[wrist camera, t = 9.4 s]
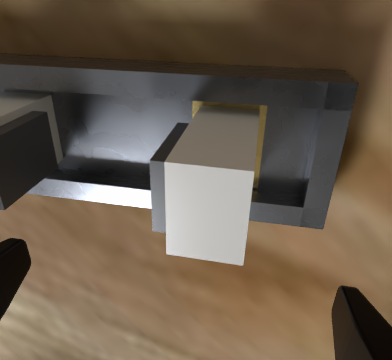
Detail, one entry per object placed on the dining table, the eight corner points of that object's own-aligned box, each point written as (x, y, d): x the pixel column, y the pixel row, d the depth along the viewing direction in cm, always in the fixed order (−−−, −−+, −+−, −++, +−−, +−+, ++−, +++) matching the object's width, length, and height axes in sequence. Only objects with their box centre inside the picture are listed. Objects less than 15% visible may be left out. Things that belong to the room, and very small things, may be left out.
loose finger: (259, 109, 17) (254, 171, 11) (251, 179, 19) (243, 265, 13) (185, 104, 17) (141, 159, 11) (185, 172, 19) (147, 251, 13)
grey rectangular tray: (344, 70, 17) (358, 83, 14) (316, 200, 20) (323, 229, 18) (-25, 52, 20) (-68, 60, 17) (7, 166, 24) (-25, 187, 21)
